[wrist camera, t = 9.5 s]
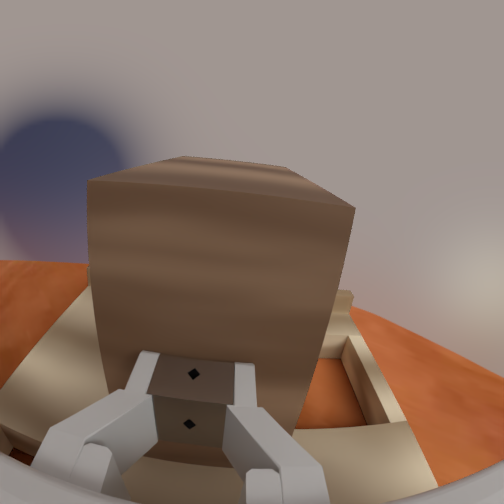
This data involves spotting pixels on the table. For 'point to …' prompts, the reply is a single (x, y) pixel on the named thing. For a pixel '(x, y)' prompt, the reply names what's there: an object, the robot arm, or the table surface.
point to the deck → (207, 477)
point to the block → (216, 275)
